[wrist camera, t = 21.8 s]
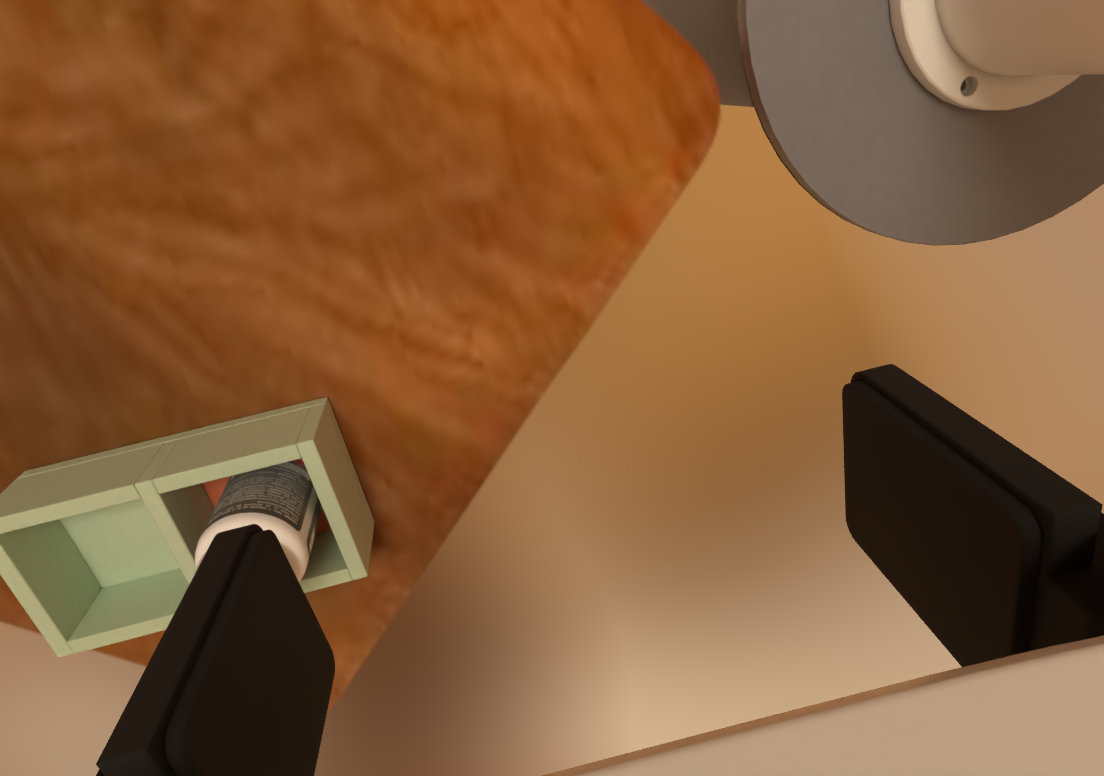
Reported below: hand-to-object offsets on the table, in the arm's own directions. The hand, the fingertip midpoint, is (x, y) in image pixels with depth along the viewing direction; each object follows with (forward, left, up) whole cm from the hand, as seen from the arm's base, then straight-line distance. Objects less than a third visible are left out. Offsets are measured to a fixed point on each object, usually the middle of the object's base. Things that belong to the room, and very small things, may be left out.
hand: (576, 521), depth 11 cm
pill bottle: (+13, +10, -24) cm, 29 cm away
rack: (+17, +11, -25) cm, 32 cm away
